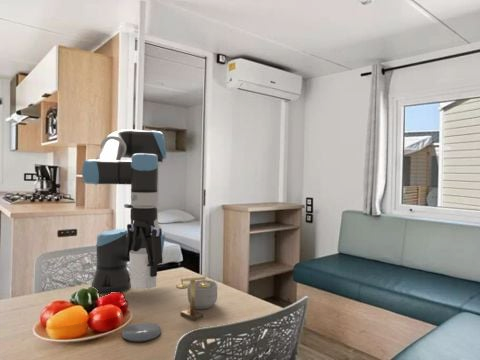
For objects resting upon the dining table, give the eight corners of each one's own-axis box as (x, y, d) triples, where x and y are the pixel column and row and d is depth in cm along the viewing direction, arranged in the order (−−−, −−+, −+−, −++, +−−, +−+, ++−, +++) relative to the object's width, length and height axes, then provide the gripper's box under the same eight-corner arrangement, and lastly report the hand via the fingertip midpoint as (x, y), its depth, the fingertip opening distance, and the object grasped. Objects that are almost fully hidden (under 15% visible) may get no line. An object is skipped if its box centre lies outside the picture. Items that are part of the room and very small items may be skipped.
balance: (173, 312, 124) (174, 270, 123) (182, 308, 127) (182, 268, 126) (203, 324, 114) (204, 279, 114) (211, 320, 117) (212, 276, 117)
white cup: (146, 279, 112) (146, 247, 111) (162, 284, 107) (162, 251, 106) (123, 285, 106) (124, 251, 105) (139, 291, 101) (140, 255, 100)
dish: (114, 334, 106) (114, 330, 106) (146, 323, 114) (146, 319, 114) (136, 347, 99) (136, 343, 99) (168, 334, 107) (168, 330, 107)
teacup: (212, 313, 123) (212, 290, 123) (182, 310, 126) (182, 287, 125) (222, 299, 137) (222, 278, 137) (195, 296, 139) (195, 275, 139)
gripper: (113, 204, 109) (112, 279, 110) (155, 210, 96) (153, 295, 97) (134, 203, 115) (133, 274, 116) (176, 208, 102) (175, 289, 103)
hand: (142, 284), depth 106 cm, fingers closed on white cup, 7 cm apart
